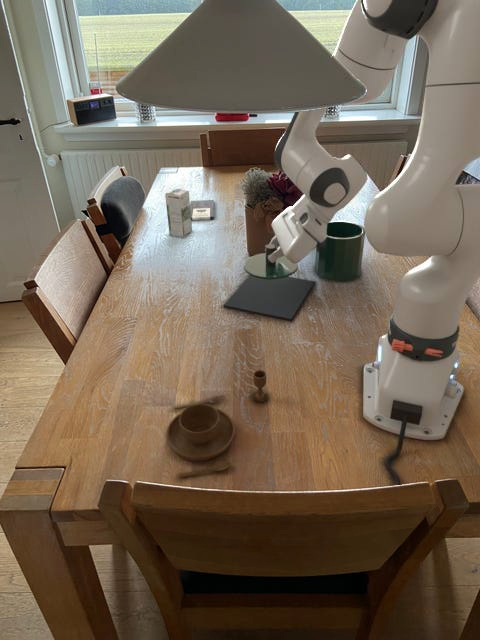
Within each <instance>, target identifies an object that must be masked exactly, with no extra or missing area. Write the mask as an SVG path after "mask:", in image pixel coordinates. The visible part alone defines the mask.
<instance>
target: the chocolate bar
mask: <svg viewBox="0 0 480 640" xmlns="http://www.w3.org/2000/svg"><path fill="white" fill-rule="evenodd" d="M190 211H191V221H203V220H204V221H205V220H214V219H215V200H214V199H205V200H204V199H202V200H190Z"/></svg>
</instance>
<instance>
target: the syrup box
mask: <svg viewBox="0 0 480 640" xmlns="http://www.w3.org/2000/svg"><path fill="white" fill-rule="evenodd" d="M164 197H165V206H166V214H167V215H166V216H167V223H168V233H169V236H174V237H179V238H185V237H186V236H187V235H189V234H190V233H191V232H193V226H192V220H191V211H190V204H191V199H190V191H189V190H187V189H184V188H173V189H171V190H170V191H168V192H165V194H164Z"/></svg>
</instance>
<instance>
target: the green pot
mask: <svg viewBox="0 0 480 640" xmlns="http://www.w3.org/2000/svg"><path fill="white" fill-rule="evenodd" d="M365 238H366V234H365V229H364V225H361V224H359V223H358V222H357V223H356V222H353V221H348V220H331V221H330V222H329V223H328V224H327V237H326V239H325V240H324V241H323V242H321V243H320V242H317V245H316V247H315V261H314V273H315V274H316V275H317V277H319V278H321V279H323V280H326V281H329V282H349V281H353V280H355V279H357V278H358V277H359V276H361V271H362V264H363V256H364V249H365V247H364V246H365V240H366V239H365Z"/></svg>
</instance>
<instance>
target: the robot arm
mask: <svg viewBox="0 0 480 640" xmlns="http://www.w3.org/2000/svg"><path fill="white" fill-rule="evenodd" d="M414 37H420V38H421V39H422V40H423V41H424V42H425V43H426V46H427V49H428V67H427V73H426V81H425V87H424V88H425V89H424V96H423V97H424V98H423V105H422V111H421V112H422V113H421V118H420V124H419V128H418V129H419V130H418V134H417V138H416V142H415V146H414V148H413V150H412V153H411V155H410V157H409V158H408V159H409V160H408V161H407V163H405V166H404V167H403V169H402V171H401V172H400V173H399V175H397V177H396V178H395V179H394V180H393V181H392V182H391V183H390V184H389V185H388V186H386V188H384V189H383V190H381V191H380V192H379V193H377V194H376V195H375V196H374V197H373V199H372V200H371V201H370V203H369V204H368V207H367V208H366V212H365V215H364V222H363V227H364V229H365V238H366V239H367V242H368V243H369V244H370V246H371V247H372V249H374V250H375V251H376V252H377V253H379V254H385V255H389V256H397V257H404V258H412V257H429V258H428V259H426V260H425V261H424V262H422V263H420V264H418V265H416V266H414V267H413V268H411V269H410V270H408V271H407V272H406V273H405V274H404V275H403V276H402V278H401V279H400V281H399V283H398V288H397V293H396V297H395V298H396V299H395V304H394V310H393V312H392V313H391V316H390V319H389V322H388V326H387V327H388V328H387V329H388V330H387V333H385V334H383V335H381V336H380V337H379V339H378V345H377V351H376V357H375V361H373V362H369V363H366V364H365V365H364V367H363V371H362V373H363V374H362V377H363V379H362V386H363V387H362V392H363V393H362V394H363V395H362V416H363V418H364V419H365V420H366V421H367V422H369V423H370V424H372V425H373V426H375V427H377V428H378V429H381V430H384V431H386V432H389V433H392V434H395V435H398V440H397V446H396V449H395V450H394V452H393V453H391V454H390V455H388V456H387V457H386V458H385V460H384V467H385V469H386V471H387V472H388V473H389V474H390V475H391V476H392V478H393V481H394V486H395V485H400V486H401V479H400V476H399V475H398V474H397V472H396V471H395V470H394V469H393V468H392V466H391V465H390V464H391V461H393V460H394V459H396V458H397V457H398V456H399V455H400V454H401V452H402V450H403V445H404V439H405V437H406V438H410V439H415V440H423V441H437V440H443V439H444V438H445V437H446V434H447V433H448V430H449V427H450V425H451V423H452V421H453V418H454V416H455V414H456V412H457V409H458V406H459V404H460V402H461V400H462V397H463V395H464V391H465V388H464V386H463V385H462V384H461V383H460V382H458V381H457V380H455V379H456V377H459V376H460V373H461V368H459V365H460V361H461V358H462V353H461V352H460V351H459V349H458V348H457V347H456V346H457V343H458V341H459V337H460V334H459V333H460V325H459V323H460V320H461V317H462V313H463V310H464V307H465V304H466V301H467V299H468V296H469V294H470V293H471V291H472V288H473V287H474V286H475V284H476V283H477V281H478V280H479V279H480V183H466V184H463V183H462V184H456V183H457V181H458V178H459V177H460V175H461V174H462V172H463V171H464V170H465V169H466V167H467V166H468V165H469V164H471V163H472V162H474V161H475V160H477V159H480V0H355V3H354V5H353V7H352V9H351V11H350V12H349V15H348V17H347V20H346V22H345V24H344V27H343V29H342V32H341V34H340V37H339V40H338V42H337V45H336V48H335V50H334V52H333V54H332V56H333V55H334V56H335V57H336V58H337V59H338V60H339V61H340V62H341V63H342V64H343V65H344V66H345V67H346V68H347V69H348V70H349V71H350V72H351V73H352V74H353V75H354V76H355V77H356V78H357V79H359V80H360V81H361V82H362V83H363V84H364V85H365V86H366V89H367V92H366V94H365V95H364V96H363V97H362V98H360V99H358V100H356V101H354V102H351V103H348V104H345V105H346V106H347V105H348V106H357V105H358V106H359V105H364V104H368V103H371V102H372V101H374V100H376V99H377V98H378V97H380V96H381V95H382V94H383V93H384V91H385V90H386V89H387V87H388V85H389V84H390V82H391V80H392V79H393V76H394V74H395V71H396V69H397V68H398V64H399V62H400V60H401V58H402V56H403V52H404V50H405V49H406V47H407V45H408V42H409V41H410V40H412V39H413V38H414ZM327 110H328V107H327V108H321V109H315V110H309V111H299V112H295V111H294V113H293V116H292V118H291V120H290V122H289V124H288V126H287V128H286V130H285V132H284V133H283V134H282V135H281V137H280V139H279V140H278V142H277V143H276V146H275V149H274V153H273V161H274V165H275V167H276V168H277V169H278V170H280V171H281V172H282V173H283V174H284V175H285V176H286V177H287V178H289V180H290V181H291V182H292V183H293V184H294V186H296V188H297V189H298V190H299V191H301V193H302V194H303V195H302V196H301V197H300V198H299V199H298V200H297V201H296V202H295V203H294V205H293V206H292V205H291V206H288V207H287V208H285V209H284V210H283V211H281V213H280V214H279V215H277V216H276V217H275V218H274V219H273V220H272V222H271V224H270V226H271V228H272V231H273V232H274V236H273V237H272V238H271V241H270V242H269V244H274V245H276V251H275V252H271V253H270V254H269V255H268V259H269V261H270V262H272V263H274V262H275V261H276V260H277V259H278V258H280V257H283V256H285V257H286V258H287V259H288V260H289V261H291V262H292V263H293V264H295V263H300V262H301V261H302V260H303V259H305V258H306V257H307V256H308V255H309V254H310V253H312V251H314V249H316V245H317V242H320V243H321V242H323V241H324V240H325V239H326V237H327V224H328V223H329V222H330V221H333V219H334V216H335V215H336V214H337V213H338V212H339V211H341V210H342V209H344V208H345V207H346V206H348V205H349V204H350V203H351V202H352V200H353V199H354V198H355V197H356V196H357V195H358V194H359V192H360V191H362V189H363V188H364V186H365V185H366V184H367V181H368V173H367V171H366V169H365V167H364V166H363V164H362V163H361V162H360V161H359V159H357V158H356V157H355V156H353V155H352V154H347V155H345V156H344V157H341V158H338V157H335V156H334V157H333V156H332V155H331V154H330V153H328V152H327V150H326V149H325V148H324V147H323V146H322V145H321V144H320V143H319V142H318V139H317V136H316V131H317V129H318V126H319V124H320V123H321V120H322V119H323V117H324V115H325V113H326V111H327ZM264 251H265V252H266V248H264Z"/></svg>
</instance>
